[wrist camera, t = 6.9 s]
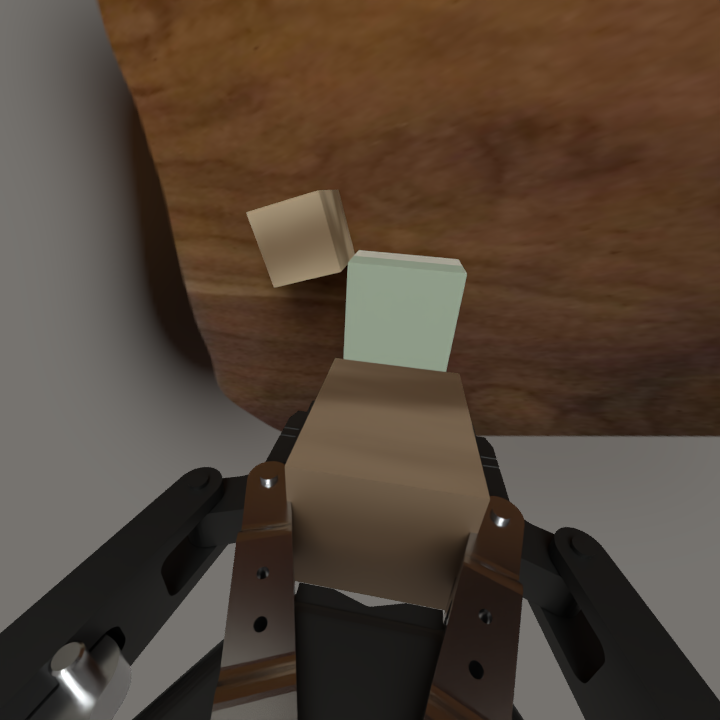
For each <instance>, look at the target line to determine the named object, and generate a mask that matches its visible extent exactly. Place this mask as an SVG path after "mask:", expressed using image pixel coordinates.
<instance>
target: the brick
mask: <svg viewBox="0 0 720 720" xmlns="http://www.w3.org/2000/svg"><path fill="white" fill-rule="evenodd" d="M246 213H247V216H248V219H249V221H250V224H251V227H252V229H253V232H254V235H255V237H256V240H257V243H258V246H259V248H260V251H261V254H262V256H263V259H264V262H265V264H266V267H267V270H268V273H269V275H270V278H271V281H272V283H273V286H274V288H275V287H279V286H283V285H288V284H292V283H296V282H300V281H305V280H309V279H313V278H317V277H321V276H326V275H330V274H334V273H338V272H341V271H342V270H343V269H344V268H345V267H346V266H347V265H348V262H349V261H350V259H351V258H352V257H353V256H354V255H355V253H354V249H353V245H352V241H351V237H350V233H349V229H348V225H347V221H346V218H345V214H344V210H343V206H342V202H341V198H340V194H339V190H318V191H315V192H312V193H308V194H305V195H302V196H298V197H295V198H292V199H289V200H285V201H282V202H279V203H276V204H272V205H269V206H266V207H262V208H259V209H256V210H253V211H249V212H246Z"/></svg>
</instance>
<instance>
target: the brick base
mask: <svg viewBox="0 0 720 720" xmlns="http://www.w3.org/2000/svg"><path fill="white" fill-rule="evenodd" d="M466 276H467V273H466V271H465V270H464V268H463V266H462V265H461V263H460V261H459V260H458V259H449V258H438V257H427V256H416V255H405V254H394V253H384V252H373V251H362V250H359V251H358V252H357V253H356V254H355V255H354V256H353V257H352V258H351V259H350V261H349V262H348V271H347V293H346V315H345V338H344V359H347V360H355V361H363V362H371V363H379V364H387V365H395V366H403V367H411V368H419V369H427V370H435V371H443V372H446V369H447V365H448V360H449V355H450V351H451V346H452V341H453V337H454V332H455V327H456V323H457V318H458V314H459V309H460V304H461V300H462V295H463V290H464V286H465V281H466Z"/></svg>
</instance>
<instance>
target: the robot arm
mask: <svg viewBox="0 0 720 720" xmlns="http://www.w3.org/2000/svg"><path fill="white" fill-rule="evenodd" d="M314 402H315V401H312V403H311V405H310V407H309V409H308V411H307V412H304V411H298V412H296V413H295V414H294V415H292V416H291V417H290V418H289V420H288V422H287V423H286V425H285V428H284V429H283V431H282V433H281V435H280V436H279V438H278V440H277V442H276V444H275V445H274V447H273V449H272V451H271V453H270V455H269V457H268V458H267V460H266V462H264V463H261V464H259V465H257V466H256V467H255V468H253V469H252V470H251V471H250V473H249V474H248V475H245V476H240V477H231V478H222V475H221V473H220V472H219V471H218V470H216V469H214V468H211V467H202V468H197V469H194V470H192V471H190V472H188V473H186V474H185V475H183V476H182V477H181V478H180V479H179V480H178V481H176V482H175V483H174V484H173V485H172V486H171V487H169V488H168V489H167V490H166V491H165V492H164V493H162V494H161V495H160V496H159V497H158V498H157V499H155V500H154V501H153V502H152V503H151V504H150V505H149V506H147V507H146V508H145V509H144V510H143V511H142V512H140V513H139V514H138V515H137V516H136V517H135V518H133V520H131V521H130V522H129V523H128V524H127V525H125V526H124V527H123V528H122V529H121V530H120V531H118V532H117V533H116V534H115V535H114V536H113V537H111V538H110V539H109V540H108V541H107V542H106V543H104V544H103V545H102V546H101V547H100V548H99V549H98V550H96V551H95V552H94V553H93V554H92V555H91V556H90V557H88V558H87V559H86V560H85V561H84V562H82V563H81V564H80V565H79V566H78V567H77V568H76V569H74V570H73V571H72V572H71V573H70V574H69V575H67V576H66V577H65V578H64V579H63V580H62V581H60V582H59V583H58V584H57V585H56V586H55V587H53V588H52V589H51V590H50V591H49V592H48V593H47V594H45V595H44V596H43V597H42V598H41V599H40V600H38V602H36V603H35V604H34V605H33V606H31V607H30V608H29V609H28V610H27V611H26V612H25V613H23V614H22V615H21V616H20V617H19V618H18V619H16V620H15V621H14V622H13V623H12V624H11V625H9V626H8V627H7V628H6V629H5V630H4V631H3V632H1V633H0V720H112V719H113V717H114V715H115V714H116V712H117V710H118V709H119V707H120V706H121V704H122V703H123V701H124V699H125V697H126V695H127V692H128V690H129V687H130V683H131V668H130V666H131V665H132V664H133V662H134V661H135V660H136V658H137V657H138V656H139V655H140V654H141V652H142V651H143V650H144V649H145V647H146V646H147V645H148V643H149V642H150V641H151V640H152V639H153V637H154V636H155V635H156V634H157V632H158V631H159V630H160V629H161V627H162V626H163V625H164V624H165V622H166V621H167V620H168V619H169V617H170V616H171V615H172V614H173V612H174V611H175V610H176V609H177V607H178V606H179V605H180V604H181V602H182V601H183V600H184V599H185V597H186V596H187V595H188V594H189V592H190V591H191V590H192V589H193V587H194V586H195V585H196V584H197V582H198V581H199V580H200V579H201V577H202V576H203V575H204V573H205V572H206V571H207V570H208V569H209V567H210V566H211V565H212V564H213V563H214V561H215V560H216V559H217V558H218V556H219V555H220V554H221V553H222V551H223V550H224V549H225V547H226V546H227V545H228V544H231V543H236V547H235V556H234V563H233V572H232V579H231V588H230V596H229V604H228V612H227V620H226V628H225V636H224V639H223V640H222V641H221V642H220V643H219V644H217V645H216V646H215V647H214V648H213V649H212V650H211V651H209V652H208V653H207V654H206V655H205V656H204V657H203V658H202V659H200V660H199V661H198V662H197V663H196V664H195V665H194V666H192V667H191V668H190V669H189V670H188V671H187V672H186V673H185V674H183V675H182V676H181V677H180V678H179V679H178V680H177V681H176V682H174V683H173V684H172V685H171V686H170V687H169V688H167V689H166V690H165V691H164V692H163V693H162V694H161V695H160V696H158V697H157V698H156V699H155V700H154V701H153V702H152V703H151V704H149V705H148V706H147V707H146V708H145V709H144V710H143V711H141V712H140V713H139V714H138V715H137V716H136V717H135V718H134V719H132V720H523V718H522V716H521V715H520V714H519V712H518V710H517V709H516V707H515V706H514V704H513V699H514V688H515V677H516V665H517V654H518V643H519V633H520V622H521V610H522V599H523V598H525V599H527V600H528V602H529V604H530V606H531V608H532V610H533V612H534V615H535V617H536V619H537V621H538V623H539V625H540V627H541V629H542V631H543V633H544V635H545V637H546V639H547V641H548V644H549V646H550V647H551V650H552V652H553V654H554V656H555V658H556V660H557V662H558V664H559V666H560V668H561V670H562V672H563V675H564V677H565V679H566V681H567V683H568V685H569V687H570V689H571V691H572V693H573V695H574V697H575V699H576V701H577V704H578V706H579V708H580V710H581V712H582V714H583V716H584V718H585V720H720V701H719V700H718V698H717V697H716V696H715V694H714V693H713V692H712V690H711V689H710V688H709V687H708V685H707V684H706V683H705V681H704V680H703V679H702V677H701V676H700V675H699V673H698V672H697V671H696V669H695V668H694V667H693V665H692V664H691V663H690V661H689V660H688V659H687V658H686V656H685V655H684V653H683V652H682V651H681V650H680V648H679V647H678V646H677V644H676V643H675V642H674V640H673V639H672V638H671V636H670V635H669V634H668V632H667V631H666V630H665V628H664V627H663V626H662V625H661V623H660V622H659V621H658V619H657V618H656V617H655V615H654V614H653V613H652V611H651V610H650V609H649V607H648V606H647V605H646V604H645V602H644V601H643V600H642V598H641V597H640V596H639V594H638V593H637V592H636V590H635V589H634V588H633V587H632V585H631V584H630V582H629V581H628V580H627V579H626V577H625V576H624V575H623V573H622V572H621V571H620V569H619V568H618V567H617V566H616V564H615V563H614V561H613V560H612V559H611V558H610V556H609V555H608V554H607V552H606V551H605V550H604V548H603V547H602V546H601V545H600V544H599V543H598V542H597V541H596V540H595V539H594V538H592V537H591V536H589V535H588V534H586V533H585V532H583V531H580V530H578V529H575V528H570V527H564V528H560V529H559V530H557V531H556V533H555V534H553V533H550V532H548V531H546V530H543V529H541V528H539V527H537V526H534V525H532V524H530V523H529V522H527V521H526V520H524V518H523V515H522V514H521V512H520V511H519V509H518V508H517V507H516V506H515V505H513V504H512V503H511V502H510V501H509V498H508V495H507V492H506V488H505V485H504V482H503V479H502V475H501V472H500V469H499V466H498V462H497V460H496V456H495V452H494V449H493V447H492V446H491V444H490V443H489V442H488V441H487V440H486V438H484V437H477V436H476V435H475V431H474V427H473V424H472V427H473V431H474V435H475V439H476V443H477V447H478V452H479V456H480V460H481V464H482V468H483V472H484V476H485V480H486V484H487V488H488V492H489V496H490V501H489V504H488V507H487V509H486V512H485V515H484V518H483V520H482V523H481V526H480V529H479V531H478V534H477V533H470V535H469V538H468V541H467V544H466V548H465V552H464V556H463V559H462V563H461V567H460V570H459V573H458V576H457V577H455V579H454V582H453V585H452V588H451V592H450V595H449V599H448V603H447V606H446V610H445V613H444V616H443V610H438V609H433V608H428V607H423V606H418V605H413V604H407V603H405V604H394V605H386V606H385V605H384V606H374V607H368V606H365V605H363V604H362V603H360V602H358V601H355V600H354V599H352V598H350V597H348V596H346V595H344V594H342V593H340V592H338V591H336V590H334V589H331V588H325V587H320V586H315V585H310V584H305V583H299V587H298V590H297V594H295V573H294V548H293V536H292V509H291V502H289V501H287V497H286V480H285V464H286V462H287V460H288V458H289V456H290V454H291V452H292V449H293V447H294V445H295V443H296V441H297V439H298V437H299V434H300V432H301V430H302V428H303V426H304V424H305V422H306V420H307V417H308V415H309V413H310V411H311V409H312V407H313V405H314Z"/></svg>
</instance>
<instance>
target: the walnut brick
mask: <svg viewBox="0 0 720 720" xmlns="http://www.w3.org/2000/svg"><path fill="white" fill-rule="evenodd" d="M285 480H286V497H287V501H289V502H291V509H292V536H293V548H294V573H295V581H298V582H304V583H308V584H313V585H319V586H324V587H329V588H334V589H339V590H345V591H349V592H354V593H360V594H365V595H370V596H376V597H380V598H385V599H391V600H395V601H401V602H406V603H411V604H416V605H421V606H426V607H431V608H436V609H442V610H446V606H447V603H448V599H449V595H450V592H451V588H452V585H453V582H454V579H455V577H457V576H458V573H459V570H460V567H461V563H462V559H463V556H464V552H465V548H466V544H467V541H468V538H469V535H470V533H477V534H478V531H479V529H480V526H481V523H482V520H483V518H484V515H485V512H486V509H487V507H488V504H489V501H490V496H489V492H488V488H487V484H486V480H485V476H484V472H483V468H482V464H481V460H480V456H479V452H478V447H477V443H476V439H475V435H474V431H473V427H472V423H471V419H470V415H469V411H468V407H467V403H466V399H465V395H464V391H463V387H462V383H461V378H460V374H459V373H451V372H443V371H435V370H427V369H419V368H411V367H403V366H395V365H387V364H379V363H371V362H363V361H355V360H347V359H339V358H335V360H334V362H333V364H332V366H331V368H330V370H329V372H328V375H327V377H326V379H325V381H324V383H323V385H322V387H321V390H320V392H319V394H318V396H317V398H316V400H315V402H314V405H313V407H312V409H311V411H310V413H309V415H308V417H307V420H306V422H305V424H304V426H303V428H302V430H301V432H300V434H299V437H298V439H297V441H296V443H295V445H294V447H293V449H292V452H291V454H290V456H289V458H288V460H287V462H286V464H285Z"/></svg>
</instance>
